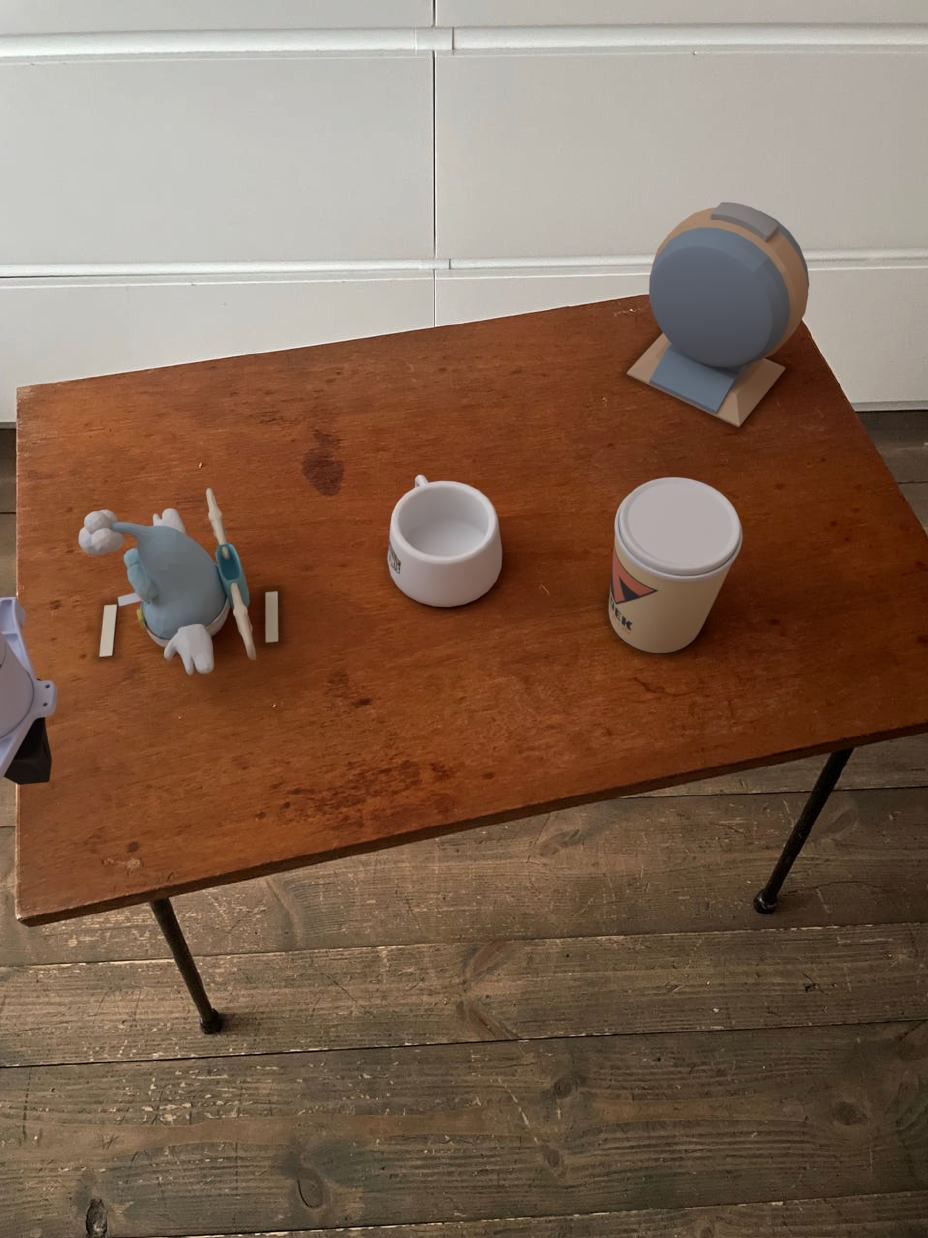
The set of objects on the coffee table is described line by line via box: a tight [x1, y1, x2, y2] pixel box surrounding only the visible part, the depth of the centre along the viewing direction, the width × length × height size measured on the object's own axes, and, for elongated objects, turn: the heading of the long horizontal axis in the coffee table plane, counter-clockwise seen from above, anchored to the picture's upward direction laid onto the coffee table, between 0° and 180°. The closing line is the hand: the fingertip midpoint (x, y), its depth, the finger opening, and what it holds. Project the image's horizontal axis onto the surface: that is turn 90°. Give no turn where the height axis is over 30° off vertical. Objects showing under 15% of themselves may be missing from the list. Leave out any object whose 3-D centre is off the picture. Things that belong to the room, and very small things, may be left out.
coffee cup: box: [608, 476, 743, 654], centre depth 82 cm, size 9×9×12 cm
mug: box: [387, 474, 503, 608], centre depth 88 cm, size 12×10×6 cm
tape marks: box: [98, 591, 279, 658], centre depth 87 cm, size 14×5×1 cm, turn 96°
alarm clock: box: [626, 201, 810, 428], centre depth 97 cm, size 14×10×18 cm
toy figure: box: [78, 487, 257, 676], centre depth 80 cm, size 17×10×15 cm, turn 18°
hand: (34, 773), depth 67 cm, fingers closed
